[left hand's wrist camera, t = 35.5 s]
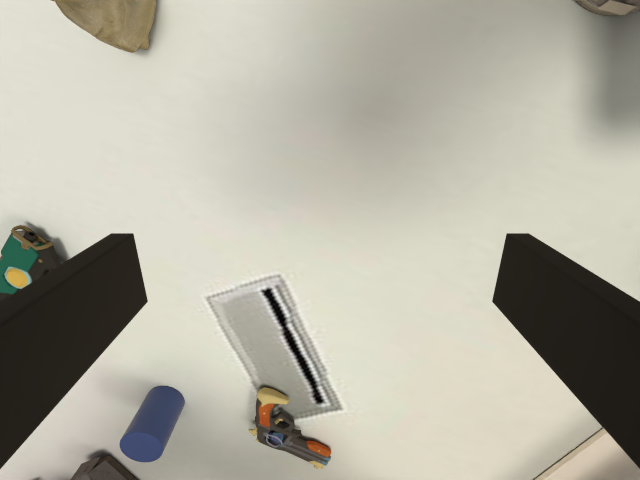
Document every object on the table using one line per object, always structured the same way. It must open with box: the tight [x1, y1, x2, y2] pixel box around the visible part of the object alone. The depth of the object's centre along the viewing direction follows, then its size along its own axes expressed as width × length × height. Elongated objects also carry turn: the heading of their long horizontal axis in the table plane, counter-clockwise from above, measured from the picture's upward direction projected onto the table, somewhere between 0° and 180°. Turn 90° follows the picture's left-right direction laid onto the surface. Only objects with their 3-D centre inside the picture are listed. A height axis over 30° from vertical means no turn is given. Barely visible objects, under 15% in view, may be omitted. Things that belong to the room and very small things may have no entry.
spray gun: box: [0, 225, 61, 302], centre depth 48 cm, size 4×17×15 cm
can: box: [120, 386, 184, 462], centre depth 53 cm, size 6×6×9 cm
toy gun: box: [249, 388, 331, 469], centre depth 58 cm, size 3×19×10 cm
